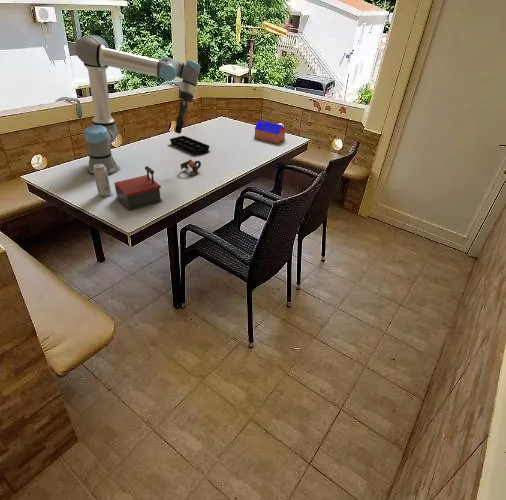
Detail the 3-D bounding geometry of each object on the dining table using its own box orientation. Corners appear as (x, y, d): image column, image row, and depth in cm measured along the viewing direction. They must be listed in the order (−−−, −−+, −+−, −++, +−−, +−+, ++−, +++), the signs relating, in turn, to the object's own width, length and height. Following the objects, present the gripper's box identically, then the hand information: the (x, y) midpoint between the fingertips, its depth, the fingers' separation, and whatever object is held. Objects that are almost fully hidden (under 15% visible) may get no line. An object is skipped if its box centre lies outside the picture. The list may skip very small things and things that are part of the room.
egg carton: (199, 156, 223) (199, 150, 221) (163, 146, 234) (163, 140, 232) (215, 149, 235) (215, 143, 233) (180, 139, 247) (180, 134, 245)
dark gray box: (147, 190, 181) (145, 177, 176) (160, 201, 171) (159, 188, 167) (117, 197, 172) (114, 184, 168) (129, 210, 163) (127, 196, 159)
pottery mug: (187, 177, 196) (181, 164, 193) (183, 178, 204) (176, 165, 202) (205, 169, 200) (199, 155, 197) (200, 170, 208) (194, 157, 206)
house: (277, 143, 251) (278, 127, 245) (253, 137, 260) (254, 121, 253) (285, 139, 260) (286, 123, 253) (262, 134, 268) (263, 118, 261)
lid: (147, 177, 177) (145, 162, 172) (161, 188, 168) (159, 173, 163) (114, 184, 168) (111, 169, 163) (127, 196, 159) (124, 181, 154)
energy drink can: (109, 197, 172) (103, 168, 163) (97, 196, 172) (90, 168, 163) (112, 191, 177) (107, 163, 168) (100, 191, 176) (94, 163, 168)
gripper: (193, 92, 176) (183, 135, 181) (194, 97, 199) (185, 134, 205) (178, 87, 174) (169, 130, 180) (181, 92, 197) (172, 130, 203)
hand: (177, 132), depth 192 cm, fingers open, 13 cm apart
